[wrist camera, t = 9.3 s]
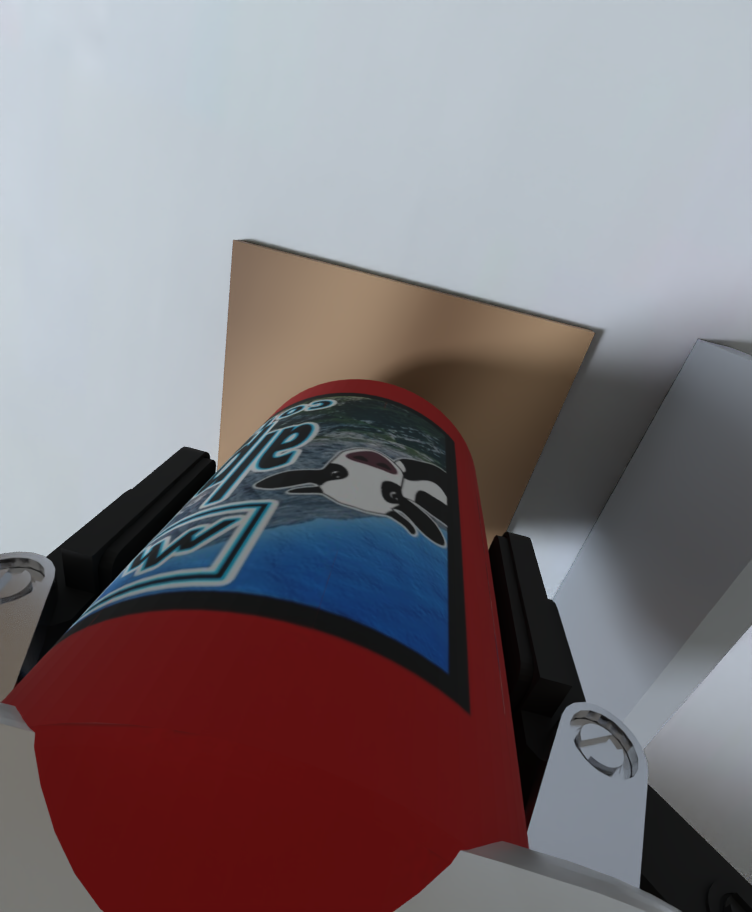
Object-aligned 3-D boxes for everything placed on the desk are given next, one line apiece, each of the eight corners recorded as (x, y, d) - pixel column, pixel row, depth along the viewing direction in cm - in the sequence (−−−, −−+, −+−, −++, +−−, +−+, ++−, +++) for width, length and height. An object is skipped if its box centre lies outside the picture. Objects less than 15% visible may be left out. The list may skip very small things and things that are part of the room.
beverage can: (411, 324, 12) (150, 1091, 1) (511, 519, 14) (722, 1394, 3) (219, 430, 14) (-468, 1039, 3) (333, 584, 16) (126, 1246, 6)
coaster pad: (590, 330, 14) (595, 332, 13) (474, 594, 19) (474, 601, 18) (238, 240, 14) (233, 239, 13) (217, 525, 19) (213, 531, 18)
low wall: (731, 347, 13) (925, 424, 8) (563, 628, 19) (611, 785, 13) (698, 338, 13) (869, 410, 8) (540, 622, 19) (579, 776, 13)
